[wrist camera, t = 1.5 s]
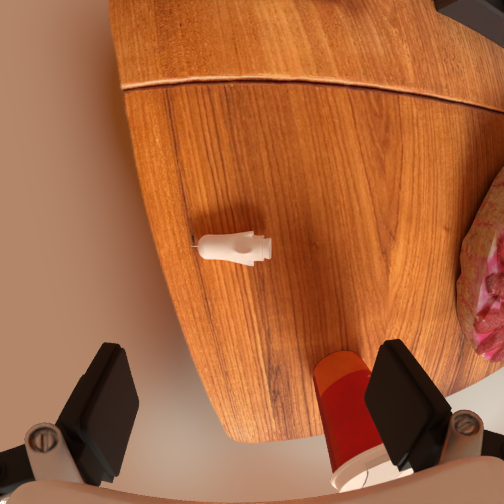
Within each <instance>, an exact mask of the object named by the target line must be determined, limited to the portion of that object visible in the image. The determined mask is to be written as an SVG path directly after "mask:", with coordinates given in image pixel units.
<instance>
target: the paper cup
mask: <svg viewBox="0 0 504 504" xmlns="http://www.w3.org/2000/svg"><path fill="white" fill-rule="evenodd" d="M371 374H372V373H371V371H370V370H369V369H368V367H367V366H366V364H365V363H364V361H363V360H362V359H361V358H360V356H359V355H358V354H356V353H354V352H351V351H339V352H335V353H332V354H330V355H328V356H326V357H325V358H323V359H322V360H321V361H320V362H319V363H318V364H317V366H316V367H315V369H314V372H313V382H314V387H315V392H316V397H317V401H318V406H319V411H320V415H321V420H322V424H323V429H324V434H325V438H326V443H327V448H328V452H329V457H330V462H331V467H332V472H333V475H332V477H331V479H330V482H331V484H332V486H333V487H335V488H336V489H338V491H339V493H341V492H346V491H351V490H356V489H360V488H364V487H368V486H372V485H376V484H380V483H384V482H387V481H391V480H394V479H397V478H401V477H404V476H407V475H410V474H412V473H413V469H412V468H410V469H407V470H404V471H401V472H399V470H398V468H397V466H394V465H393V464H392V462H391V460H390V458H389V455H388V453H387V451H386V449H385V446H384V444H383V442H382V440H381V437H380V435H379V433H378V431H377V428H376V426H375V424H374V422H373V420H372V417H371V415H370V413H369V411H368V409H367V407H366V404H365V402H364V394H365V391H366V388H367V386H368V383H369V380H370V377H371Z"/></svg>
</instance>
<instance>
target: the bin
mask: <svg viewBox="0 0 504 504" xmlns="http://www.w3.org/2000/svg"><path fill="white" fill-rule="evenodd" d="M435 5H436V10H437V12H439V13H442V14H444V15H446V16H448V17H450V18H452V19H454V20H456V21H458V22H460V23H462V24H464V25H466V26H467V27H469V28H471V29H473V30H475V31H476V32H478V33H480V34H482V35H483V36H485V37H487V38H488V39H490V40H491V41H493V42H495V43H496V44H498V45H499V46H501V47H502V48H504V0H435Z"/></svg>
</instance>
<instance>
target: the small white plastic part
mask: <svg viewBox="0 0 504 504" xmlns="http://www.w3.org/2000/svg"><path fill="white" fill-rule="evenodd" d="M192 247H198V252H199V254H200V255H201V257H203V258H205V259H219V260H227V261H232V262H236V263H241V264H245V265H249V266H254V261H264V258H267V259H271V252H272V240H271V238H267V239H265V236H264V235H262V236H257V235H254V231H248V232H242V233H235V234H225V235H210V234H207V235H204V236H202V237H201V238H200V240H199V242H198V246H192Z"/></svg>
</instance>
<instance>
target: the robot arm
mask: <svg viewBox="0 0 504 504" xmlns="http://www.w3.org/2000/svg"><path fill="white" fill-rule="evenodd" d="M364 402H365V404H366V407H367V409H368V411H369V413H370V415H371V417H372V420H373V422H374V424H375V426H376V428H377V431H378V433H379V435H380V437H381V440H382V442H383V444H384V446H385V449H386V451H387V453H388V455H389V458H390V460H391V462H392V464H393V465H394V466H397V468H398V470H399V472H401V471H404V470H407V469H410V468H412V469H413V472H414V473H413V474H410V475H407V476H404V477H401V478H397V479H394V480H391V481H387V482H384V483H380V484H376V485H372V486H368V487H364V488H360V489H356V490H351V491H346V492H341V493H336V494H331V495H324V496H318V497H312V498H304V499H295V500H285V501H273V502H255V503H212V502H195V501H182V500H172V499H165V498H156V497H150V496H143V495H137V494H131V493H126V492H121V491H116V490H111V489H107V488H101V487H99V486H100V484H101V481H106V482H110V483H112V482H113V479H114V476H115V477H117V476H118V475H119V473H120V469H121V465H122V462H123V458H124V455H125V451H126V448H127V444H128V441H129V437H130V434H131V430H132V427H133V424H134V421H135V418H136V414H137V411H138V408H139V399H138V396H137V392H136V389H135V385H134V382H133V378H132V375H131V371H130V367H129V364H128V360H127V356H126V352H125V350H124V349H123V348H121V347H120V345H119V344H116V343H106V342H105V343H103V344H102V346H101V347H100V349H99V351H98V352H97V354H96V356H95V357H94V359H93V361H92V362H91V364H90V366H89V368H88V369H87V371H86V373H85V374H84V375H82V377H81V378H80V380H79V381H78V383H77V385H76V387H75V388H74V390H73V392H72V394H71V396H70V398H69V399H68V401H67V403H66V405H65V407H64V408H63V410H62V412H61V414H60V416H59V418H58V420H57V422H56V424H55V425H53V424H51V423H39V424H36V425H34V426H33V427H31V428H30V429H29V430H28V432H27V433H26V436H25V444H23V445H20V446H18V447H15V448H12V449H9V450H6V451H3V452H0V504H504V435H502V434H498V433H494V432H491V431H488V430H484V426H483V422H482V419H481V418H480V417H479V416H478V415H477V414H476V413H474V412H472V411H470V410H459V411H457V412H455V413H454V414H452V412H451V409H452V408H451V407H450V405H449V404H448V402H447V401H446V399H445V398H444V397H443V395H442V394H441V392H440V391H439V390H438V388H437V387H436V386H435V384H434V383H433V382H432V380H431V379H430V377H429V376H428V375H427V373H426V372H425V371H424V369H423V368H422V367H421V365H420V364H419V363H418V361H417V360H416V359H415V358H414V356H413V355H412V354H411V352H410V351H409V350H408V348H407V347H406V346H405V345H404V343H403V342H402V341H401V340H400V339H394V340H386V341H385V342H384V344H383V345H381V346H380V348H379V351H378V354H377V358H376V361H375V364H374V367H373V370H372V374H371V377H370V380H369V383H368V386H367V388H366V391H365V394H364Z"/></svg>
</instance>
